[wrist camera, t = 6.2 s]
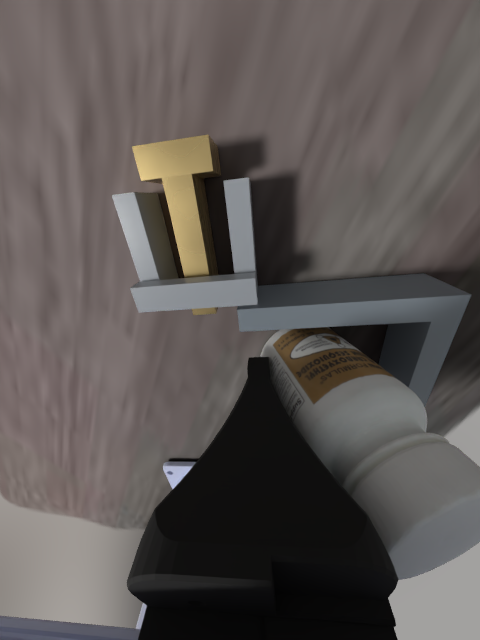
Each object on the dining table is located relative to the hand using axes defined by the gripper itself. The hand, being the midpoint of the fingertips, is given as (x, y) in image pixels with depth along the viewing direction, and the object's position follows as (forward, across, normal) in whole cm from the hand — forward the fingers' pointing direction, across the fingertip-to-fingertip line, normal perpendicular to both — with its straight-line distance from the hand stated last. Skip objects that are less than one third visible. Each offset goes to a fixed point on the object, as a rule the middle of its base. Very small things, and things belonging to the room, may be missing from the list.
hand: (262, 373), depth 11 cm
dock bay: (+2, -1, -2) cm, 3 cm away
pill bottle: (+2, -2, 0) cm, 3 cm away
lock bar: (+2, +2, -6) cm, 7 cm away
